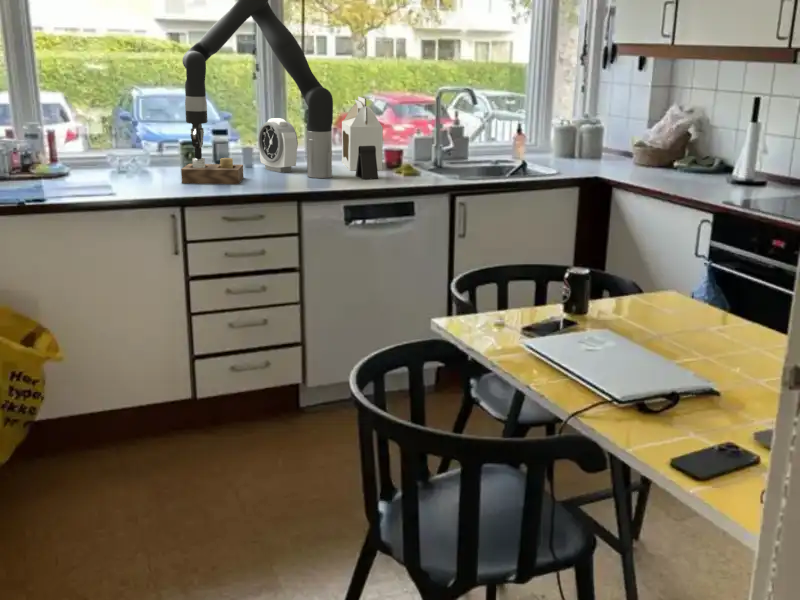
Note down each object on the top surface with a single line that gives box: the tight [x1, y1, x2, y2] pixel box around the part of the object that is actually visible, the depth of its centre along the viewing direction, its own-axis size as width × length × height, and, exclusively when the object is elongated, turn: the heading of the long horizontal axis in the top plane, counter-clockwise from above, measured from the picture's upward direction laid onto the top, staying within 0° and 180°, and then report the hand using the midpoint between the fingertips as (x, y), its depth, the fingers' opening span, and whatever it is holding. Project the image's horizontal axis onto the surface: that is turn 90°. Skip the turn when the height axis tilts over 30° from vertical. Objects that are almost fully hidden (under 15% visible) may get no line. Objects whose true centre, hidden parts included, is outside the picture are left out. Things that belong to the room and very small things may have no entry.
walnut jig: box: [180, 157, 245, 185], centre depth 311 cm, size 20×14×8 cm
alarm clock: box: [257, 117, 299, 173], centre depth 337 cm, size 18×8×20 cm, turn 42°
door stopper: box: [355, 146, 379, 181], centre depth 325 cm, size 9×6×12 cm, turn 22°
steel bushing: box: [191, 157, 206, 168], centre depth 311 cm, size 4×4×8 cm
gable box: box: [341, 96, 384, 172], centre depth 350 cm, size 22×13×28 cm, turn 12°
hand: (198, 158), depth 310 cm, fingers closed
